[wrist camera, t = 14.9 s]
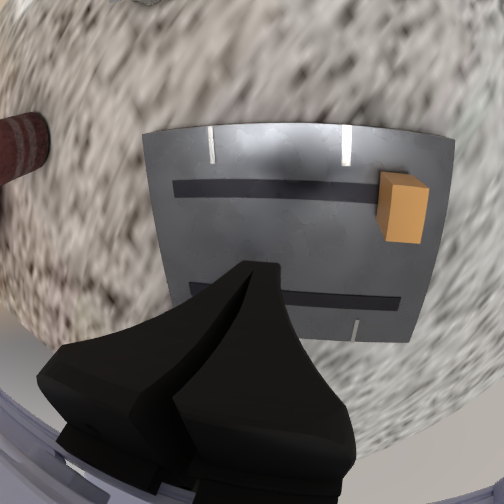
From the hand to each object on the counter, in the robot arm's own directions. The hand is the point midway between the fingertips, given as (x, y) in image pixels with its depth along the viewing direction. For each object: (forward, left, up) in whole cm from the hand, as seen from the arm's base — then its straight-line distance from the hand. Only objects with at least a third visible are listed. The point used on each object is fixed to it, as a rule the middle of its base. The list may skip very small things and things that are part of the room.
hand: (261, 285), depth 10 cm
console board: (-3, -1, -10) cm, 11 cm away
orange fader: (+1, -7, -8) cm, 11 cm away
